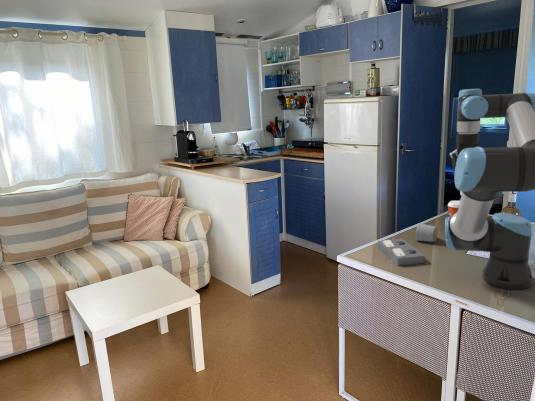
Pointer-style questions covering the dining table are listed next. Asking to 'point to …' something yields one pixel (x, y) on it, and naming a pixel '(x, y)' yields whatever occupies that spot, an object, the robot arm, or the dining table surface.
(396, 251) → the rocker
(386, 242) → the rocker
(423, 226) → the ceramic mug
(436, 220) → the dining table surface
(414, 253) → the rocker switch box
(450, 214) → the paper cup
